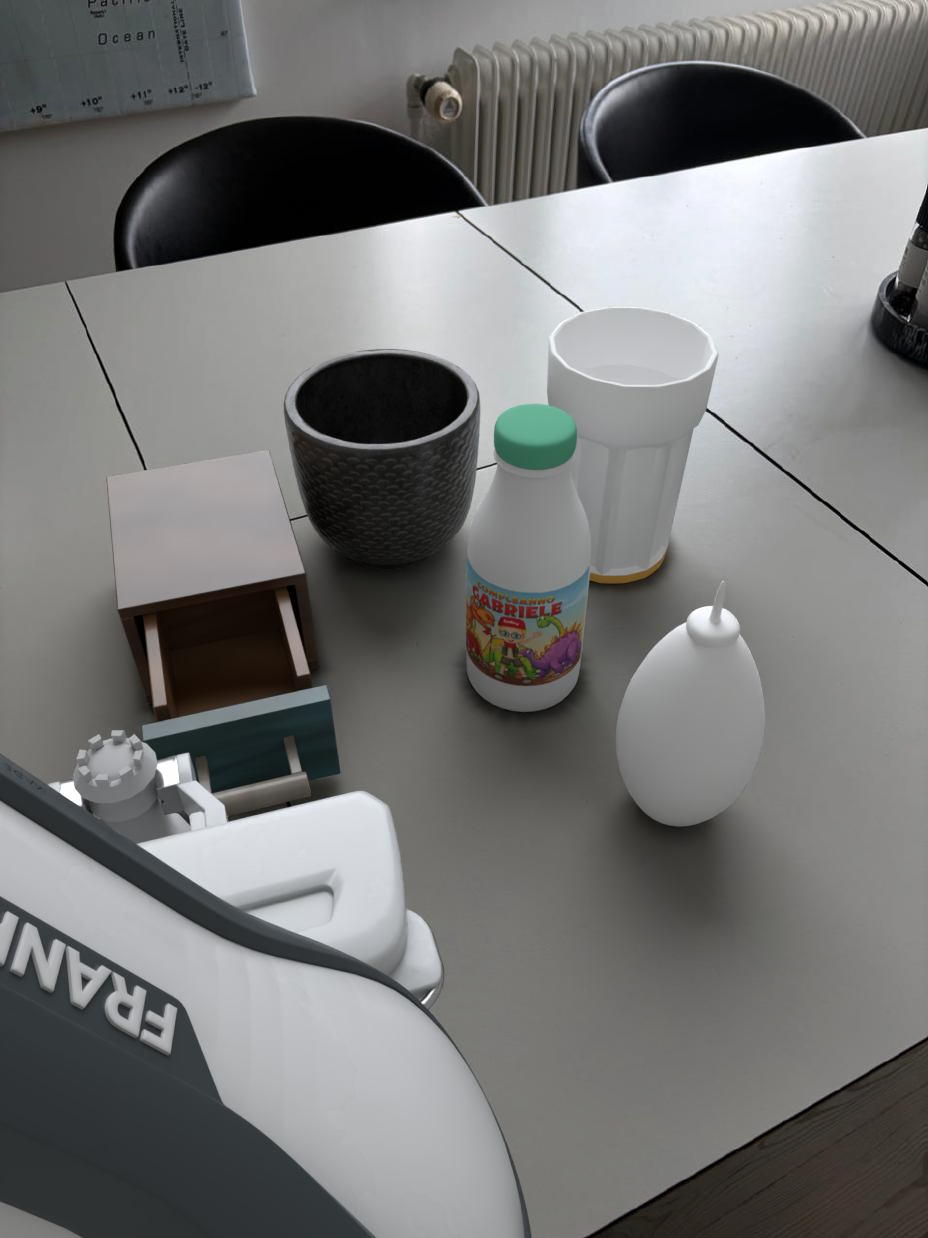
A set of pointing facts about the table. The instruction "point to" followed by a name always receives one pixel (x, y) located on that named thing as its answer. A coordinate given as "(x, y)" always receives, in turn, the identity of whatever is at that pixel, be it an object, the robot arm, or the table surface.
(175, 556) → the cabinet
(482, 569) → the milk bottle
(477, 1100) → the robot arm
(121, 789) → the rook chess piece
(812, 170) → the table surface
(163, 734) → the drawer
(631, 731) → the sauce bottle
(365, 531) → the planter
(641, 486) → the cup
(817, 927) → the table surface
